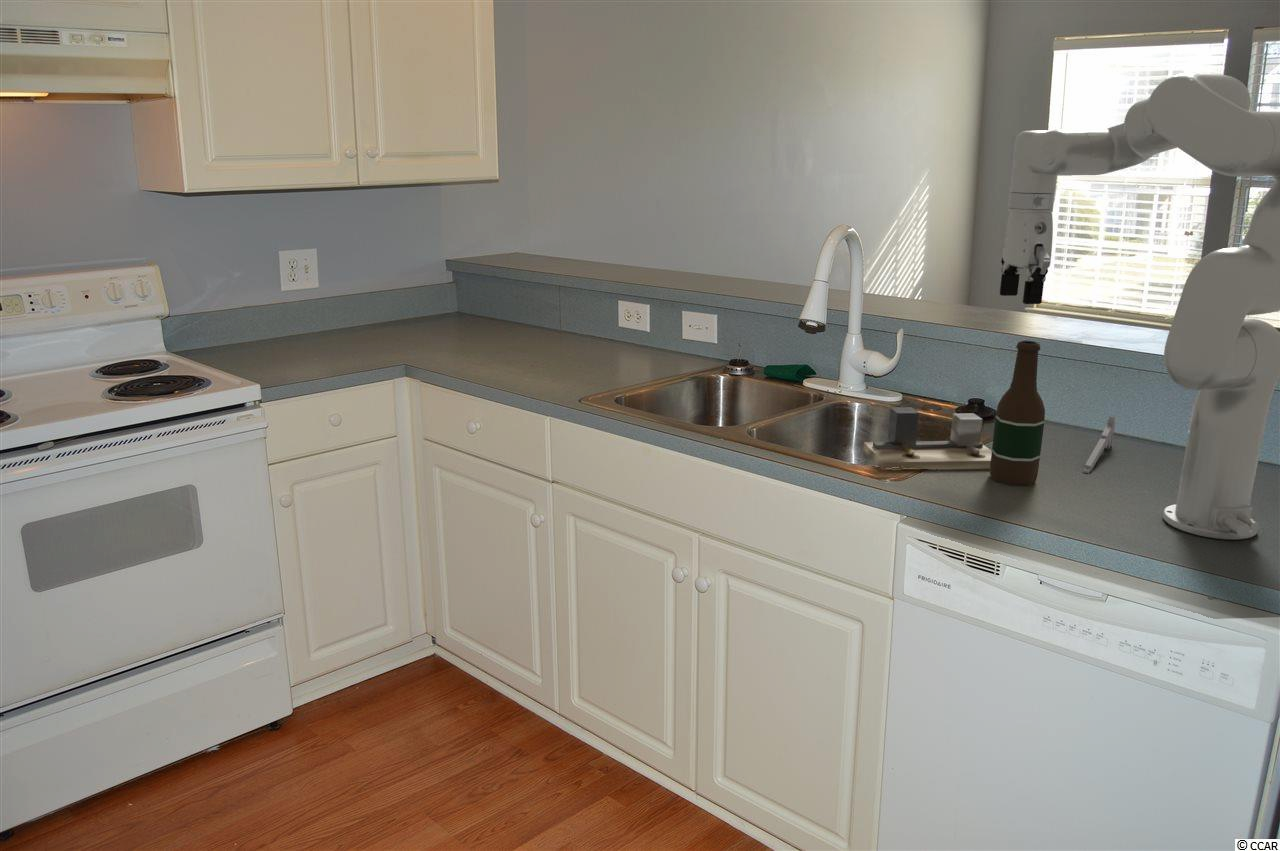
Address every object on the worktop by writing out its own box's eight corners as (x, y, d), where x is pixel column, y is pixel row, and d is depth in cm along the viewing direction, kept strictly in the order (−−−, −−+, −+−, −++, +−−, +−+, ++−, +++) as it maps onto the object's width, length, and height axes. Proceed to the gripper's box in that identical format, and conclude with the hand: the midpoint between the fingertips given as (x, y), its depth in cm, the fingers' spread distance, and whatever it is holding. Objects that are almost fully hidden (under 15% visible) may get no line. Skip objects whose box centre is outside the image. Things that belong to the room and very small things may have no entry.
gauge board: (1003, 468, 178) (1008, 429, 176) (882, 470, 176) (885, 430, 174) (977, 448, 189) (981, 411, 187) (863, 449, 188) (865, 412, 186)
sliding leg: (923, 455, 179) (926, 418, 177) (901, 455, 178) (904, 419, 176) (908, 442, 186) (911, 407, 184) (887, 442, 186) (890, 407, 184)
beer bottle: (992, 469, 177) (1007, 336, 171) (1038, 476, 174) (1056, 340, 167) (985, 482, 170) (1001, 344, 164) (1034, 489, 167) (1052, 348, 161)
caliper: (1106, 446, 192) (1110, 415, 190) (1112, 447, 192) (1116, 415, 190) (1082, 474, 176) (1086, 440, 174) (1088, 475, 175) (1093, 441, 174)
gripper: (1075, 206, 169) (1062, 307, 174) (1029, 200, 186) (1019, 292, 190) (1032, 206, 168) (1020, 307, 173) (990, 200, 185) (980, 292, 190)
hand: (1019, 299), depth 182 cm, fingers open, 9 cm apart
